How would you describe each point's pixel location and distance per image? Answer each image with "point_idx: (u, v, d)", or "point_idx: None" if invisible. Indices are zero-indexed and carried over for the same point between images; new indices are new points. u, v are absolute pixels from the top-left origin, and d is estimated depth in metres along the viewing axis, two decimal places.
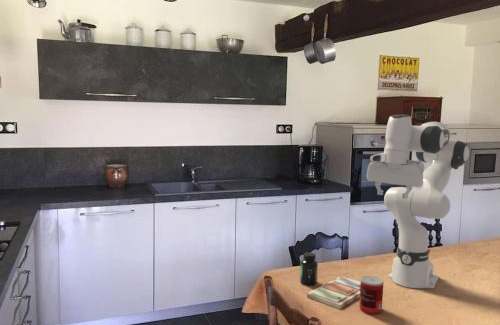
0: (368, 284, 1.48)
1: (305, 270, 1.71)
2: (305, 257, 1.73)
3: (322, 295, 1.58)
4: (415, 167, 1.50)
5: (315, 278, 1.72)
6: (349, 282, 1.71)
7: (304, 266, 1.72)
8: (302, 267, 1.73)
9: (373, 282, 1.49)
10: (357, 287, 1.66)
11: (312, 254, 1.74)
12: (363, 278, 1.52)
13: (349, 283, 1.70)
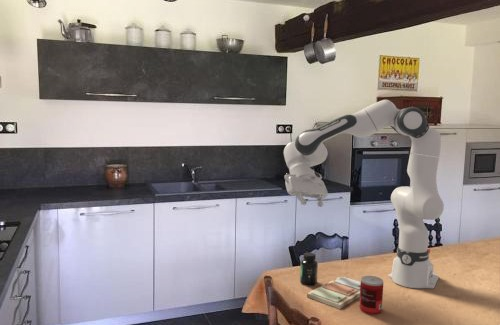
0: (368, 284, 1.48)
1: (305, 270, 1.71)
2: (305, 257, 1.73)
3: (322, 295, 1.58)
4: None
5: (315, 278, 1.72)
6: (349, 282, 1.71)
7: (304, 266, 1.72)
8: (302, 267, 1.73)
9: (373, 282, 1.49)
10: (357, 287, 1.66)
11: (312, 254, 1.74)
12: (363, 278, 1.52)
13: (349, 283, 1.70)
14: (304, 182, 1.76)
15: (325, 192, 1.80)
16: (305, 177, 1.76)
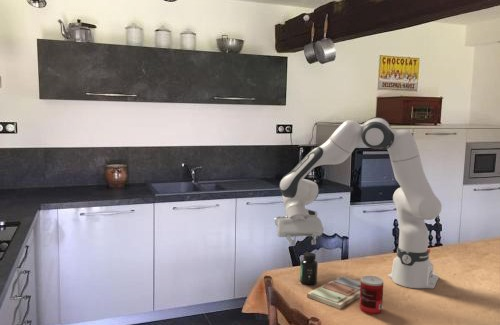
0: (368, 284, 1.48)
1: (305, 270, 1.71)
2: (305, 257, 1.73)
3: (322, 295, 1.58)
4: None
5: (315, 278, 1.72)
6: (349, 282, 1.71)
7: (304, 266, 1.72)
8: (302, 267, 1.73)
9: (373, 282, 1.49)
10: (357, 287, 1.66)
11: (312, 254, 1.74)
12: (363, 278, 1.52)
13: (349, 283, 1.70)
14: (295, 222, 1.86)
15: (320, 229, 1.85)
16: (296, 218, 1.86)
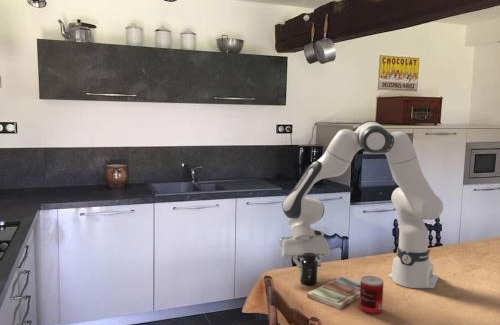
0: (368, 284, 1.48)
1: (305, 270, 1.71)
2: (305, 257, 1.73)
3: (322, 295, 1.58)
4: None
5: (315, 278, 1.72)
6: (349, 282, 1.71)
7: (304, 266, 1.72)
8: (302, 267, 1.73)
9: (373, 282, 1.49)
10: (357, 287, 1.66)
11: (312, 254, 1.74)
12: (363, 278, 1.52)
13: (349, 283, 1.70)
14: (301, 243, 1.78)
15: (326, 250, 1.78)
16: (301, 238, 1.78)
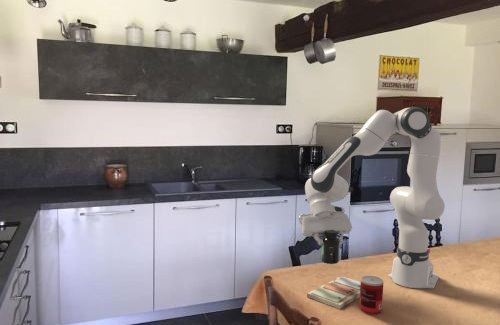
0: (368, 284, 1.48)
1: (327, 247, 1.65)
2: (326, 234, 1.66)
3: (322, 295, 1.58)
4: None
5: (337, 256, 1.66)
6: (349, 282, 1.71)
7: (326, 244, 1.65)
8: (323, 245, 1.66)
9: (373, 282, 1.49)
10: (357, 287, 1.66)
11: (333, 231, 1.67)
12: (363, 278, 1.52)
13: (349, 283, 1.70)
14: (321, 220, 1.71)
15: (348, 227, 1.71)
16: (322, 215, 1.71)
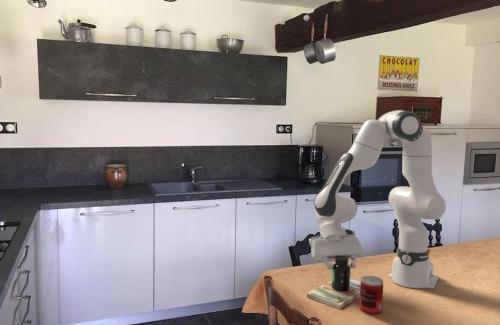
0: (368, 284, 1.48)
1: (338, 274, 1.62)
2: (337, 260, 1.63)
3: (322, 295, 1.58)
4: None
5: (348, 283, 1.63)
6: None
7: (336, 270, 1.62)
8: (334, 271, 1.63)
9: (373, 282, 1.49)
10: (357, 287, 1.66)
11: (344, 258, 1.64)
12: (363, 278, 1.52)
13: None
14: (332, 243, 1.68)
15: (359, 251, 1.68)
16: (332, 238, 1.68)
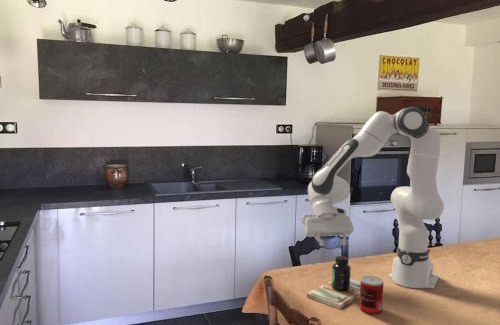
0: (368, 284, 1.48)
1: (338, 274, 1.62)
2: (337, 261, 1.63)
3: (322, 295, 1.58)
4: None
5: (348, 283, 1.63)
6: None
7: (337, 270, 1.62)
8: (334, 271, 1.63)
9: (373, 282, 1.49)
10: (357, 287, 1.66)
11: (345, 258, 1.64)
12: (363, 278, 1.52)
13: None
14: (324, 221, 1.76)
15: (350, 228, 1.75)
16: (324, 216, 1.76)
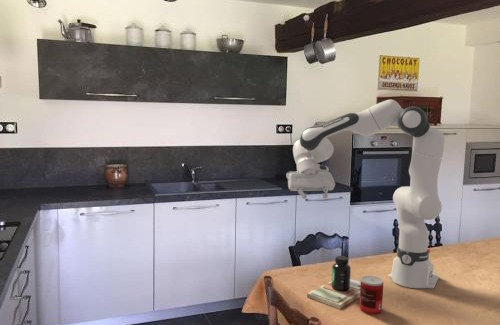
0: (368, 284, 1.48)
1: (338, 274, 1.62)
2: (337, 261, 1.63)
3: (322, 295, 1.58)
4: None
5: (348, 283, 1.63)
6: None
7: (337, 270, 1.62)
8: (334, 272, 1.63)
9: (373, 282, 1.49)
10: (357, 287, 1.66)
11: (345, 258, 1.64)
12: (363, 278, 1.52)
13: None
14: (307, 177, 1.85)
15: (331, 183, 1.84)
16: (307, 172, 1.85)
